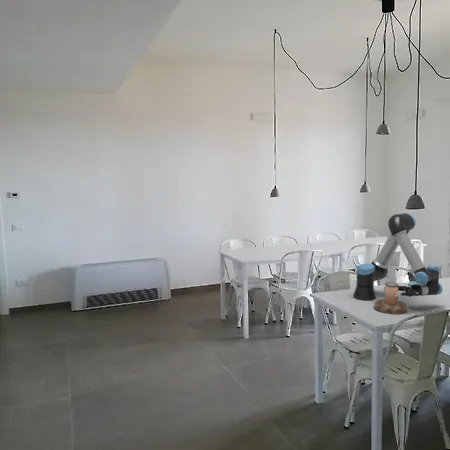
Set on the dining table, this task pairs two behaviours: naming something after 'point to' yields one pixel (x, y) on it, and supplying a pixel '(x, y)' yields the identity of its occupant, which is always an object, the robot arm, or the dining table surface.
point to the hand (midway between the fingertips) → (389, 291)
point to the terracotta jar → (391, 293)
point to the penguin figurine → (412, 282)
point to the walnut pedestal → (390, 307)
